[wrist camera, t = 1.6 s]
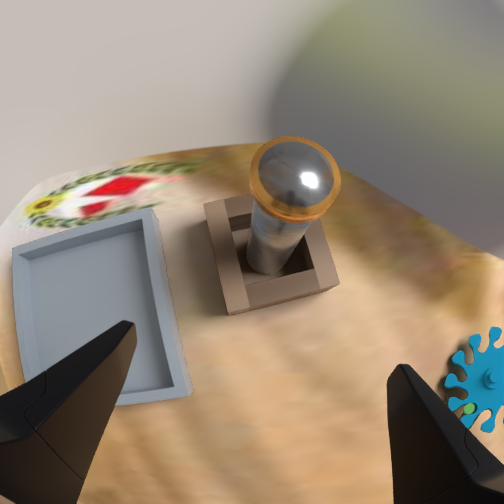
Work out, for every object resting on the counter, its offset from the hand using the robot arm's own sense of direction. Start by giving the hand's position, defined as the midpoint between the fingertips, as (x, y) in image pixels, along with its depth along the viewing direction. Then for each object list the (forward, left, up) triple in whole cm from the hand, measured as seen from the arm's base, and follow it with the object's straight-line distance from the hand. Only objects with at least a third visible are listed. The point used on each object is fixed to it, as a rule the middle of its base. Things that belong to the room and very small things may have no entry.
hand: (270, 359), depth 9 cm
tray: (+5, +12, -13) cm, 19 cm away
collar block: (+7, -3, -13) cm, 15 cm away
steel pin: (+7, -3, -13) cm, 15 cm away
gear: (-10, -19, -14) cm, 26 cm away
